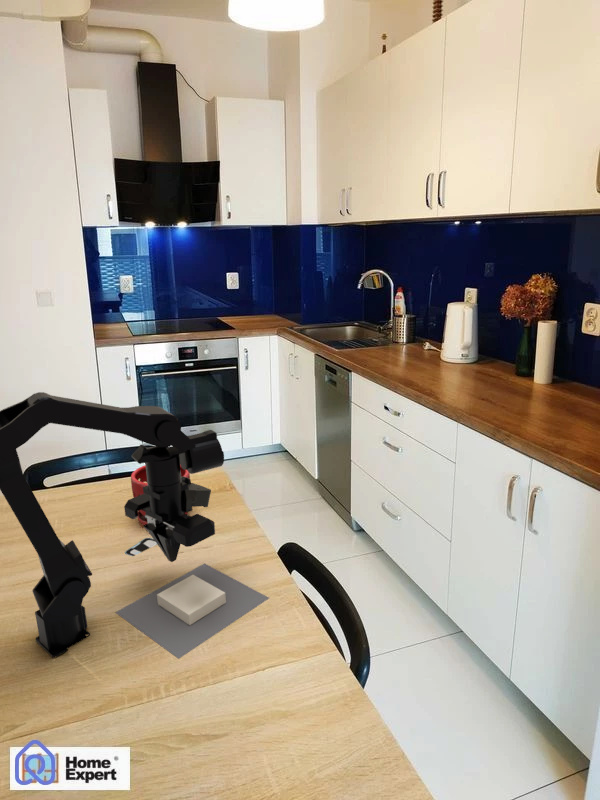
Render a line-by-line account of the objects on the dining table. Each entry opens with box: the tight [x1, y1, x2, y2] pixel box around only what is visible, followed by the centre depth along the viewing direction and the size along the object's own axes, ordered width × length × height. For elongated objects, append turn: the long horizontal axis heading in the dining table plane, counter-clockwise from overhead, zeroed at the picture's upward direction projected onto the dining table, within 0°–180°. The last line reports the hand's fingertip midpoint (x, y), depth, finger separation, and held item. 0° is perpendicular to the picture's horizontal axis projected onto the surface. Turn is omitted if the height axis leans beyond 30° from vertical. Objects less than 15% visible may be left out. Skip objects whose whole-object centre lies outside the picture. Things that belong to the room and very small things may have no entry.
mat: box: [114, 563, 270, 660], centre depth 102 cm, size 20×18×1 cm
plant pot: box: [130, 465, 191, 526], centre depth 133 cm, size 13×13×12 cm
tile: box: [157, 575, 226, 625], centre depth 102 cm, size 8×2×9 cm
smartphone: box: [124, 537, 158, 557], centre depth 119 cm, size 7×1×15 cm
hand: (172, 560), depth 103 cm, fingers closed
